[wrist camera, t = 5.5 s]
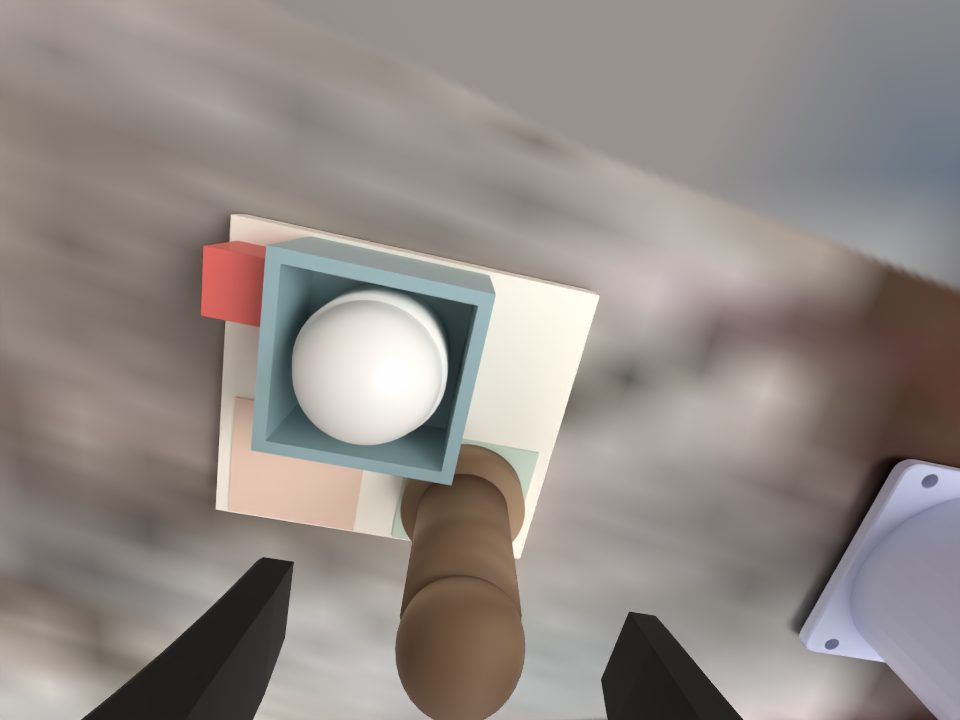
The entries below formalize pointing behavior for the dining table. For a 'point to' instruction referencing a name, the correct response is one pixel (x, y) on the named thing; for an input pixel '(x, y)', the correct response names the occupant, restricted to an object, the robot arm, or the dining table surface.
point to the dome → (371, 364)
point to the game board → (492, 414)
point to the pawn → (462, 589)
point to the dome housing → (314, 283)
